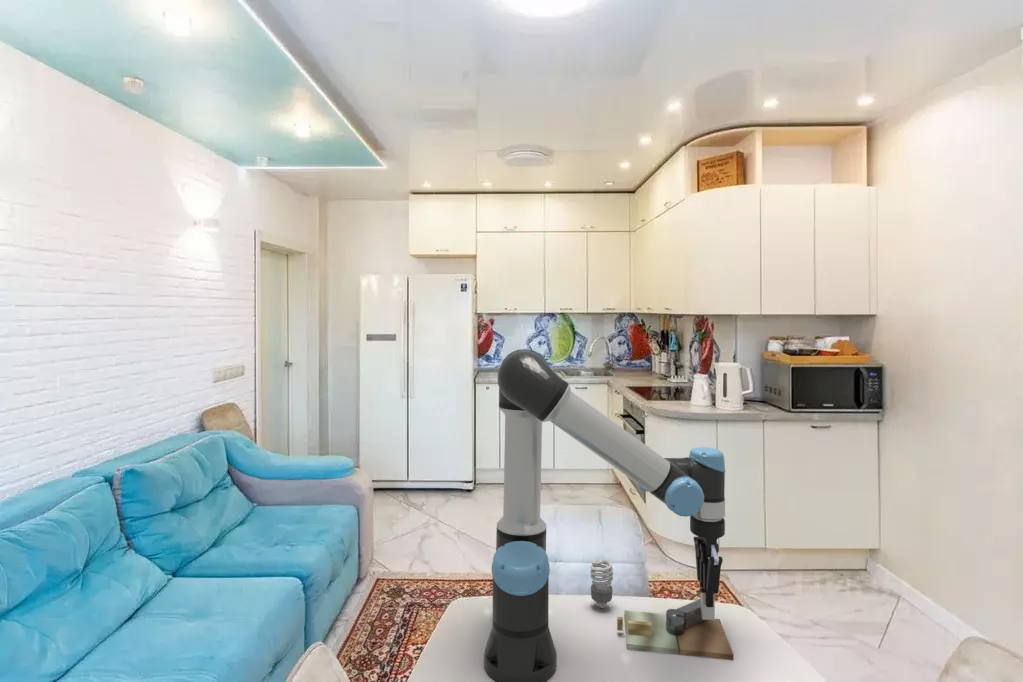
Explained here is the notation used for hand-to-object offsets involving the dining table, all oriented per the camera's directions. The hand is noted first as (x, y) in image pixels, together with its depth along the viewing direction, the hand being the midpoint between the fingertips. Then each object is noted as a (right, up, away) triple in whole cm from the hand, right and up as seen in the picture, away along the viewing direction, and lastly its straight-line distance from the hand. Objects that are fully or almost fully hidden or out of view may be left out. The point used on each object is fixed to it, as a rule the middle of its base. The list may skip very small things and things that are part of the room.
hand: (707, 617), depth 124 cm
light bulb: (-23, -3, +10) cm, 25 cm away
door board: (-8, -3, -2) cm, 9 cm away
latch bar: (-4, -2, 0) cm, 5 cm away
